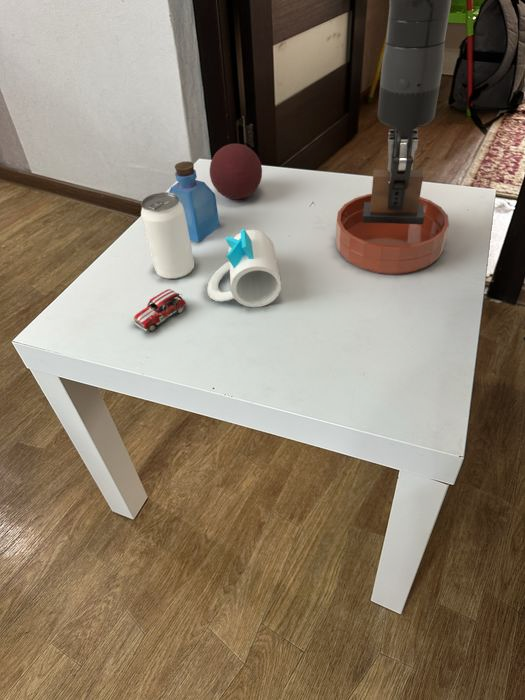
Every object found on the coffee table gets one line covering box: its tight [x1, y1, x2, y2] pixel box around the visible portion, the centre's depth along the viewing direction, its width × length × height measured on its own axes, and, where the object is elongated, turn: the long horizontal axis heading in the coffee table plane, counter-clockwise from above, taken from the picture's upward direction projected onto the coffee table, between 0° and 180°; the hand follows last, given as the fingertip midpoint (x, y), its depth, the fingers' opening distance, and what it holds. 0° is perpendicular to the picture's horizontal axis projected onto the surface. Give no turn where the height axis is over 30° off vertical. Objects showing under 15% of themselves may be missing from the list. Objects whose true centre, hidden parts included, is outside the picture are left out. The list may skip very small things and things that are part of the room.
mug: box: [206, 228, 282, 308], centre depth 75 cm, size 12×9×12 cm
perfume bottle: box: [168, 160, 221, 243], centre depth 85 cm, size 6×6×12 cm
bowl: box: [335, 193, 450, 275], centre depth 80 cm, size 17×17×5 cm
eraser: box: [363, 169, 424, 224], centre depth 75 cm, size 9×4×7 cm, turn 79°
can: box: [140, 191, 195, 280], centre depth 77 cm, size 6×6×12 cm
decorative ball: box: [209, 143, 263, 200], centre depth 94 cm, size 10×10×10 cm
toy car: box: [133, 288, 187, 333], centre depth 71 cm, size 4×8×3 cm, turn 136°
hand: (394, 203), depth 76 cm, fingers closed on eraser, 2 cm apart
